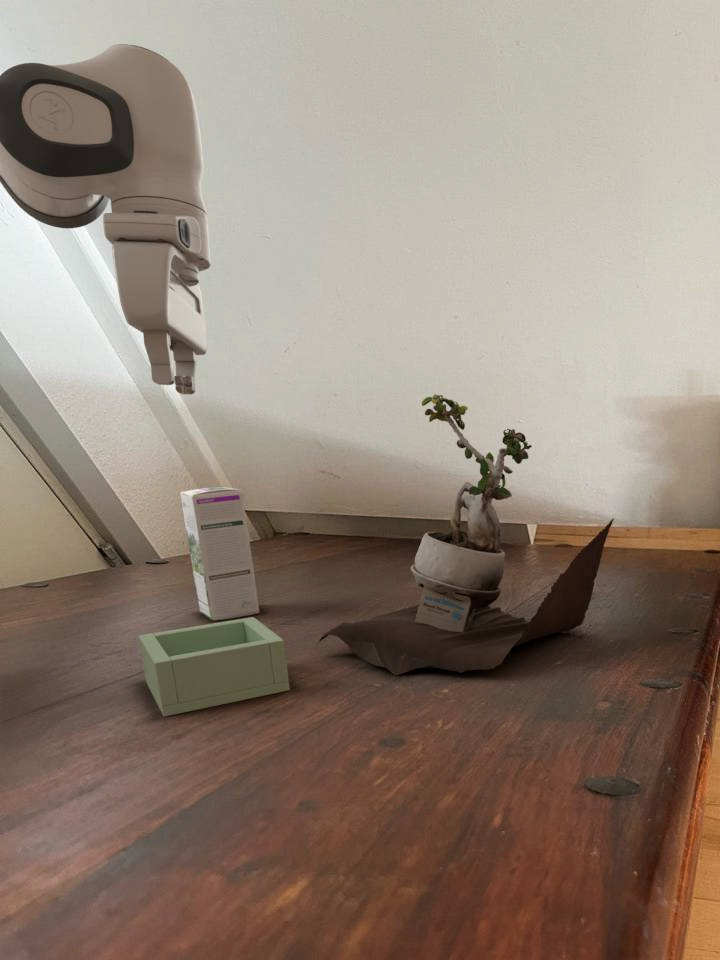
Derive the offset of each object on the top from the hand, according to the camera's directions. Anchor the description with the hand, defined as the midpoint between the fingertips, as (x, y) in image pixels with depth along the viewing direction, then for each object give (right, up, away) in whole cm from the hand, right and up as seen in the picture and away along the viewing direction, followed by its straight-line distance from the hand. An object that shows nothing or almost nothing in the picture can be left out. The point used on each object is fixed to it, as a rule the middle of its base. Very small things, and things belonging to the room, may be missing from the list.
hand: (175, 389), depth 80 cm
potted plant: (+30, -26, -6) cm, 41 cm away
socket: (+9, -30, -15) cm, 35 cm away
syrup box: (+2, -23, +11) cm, 26 cm away
